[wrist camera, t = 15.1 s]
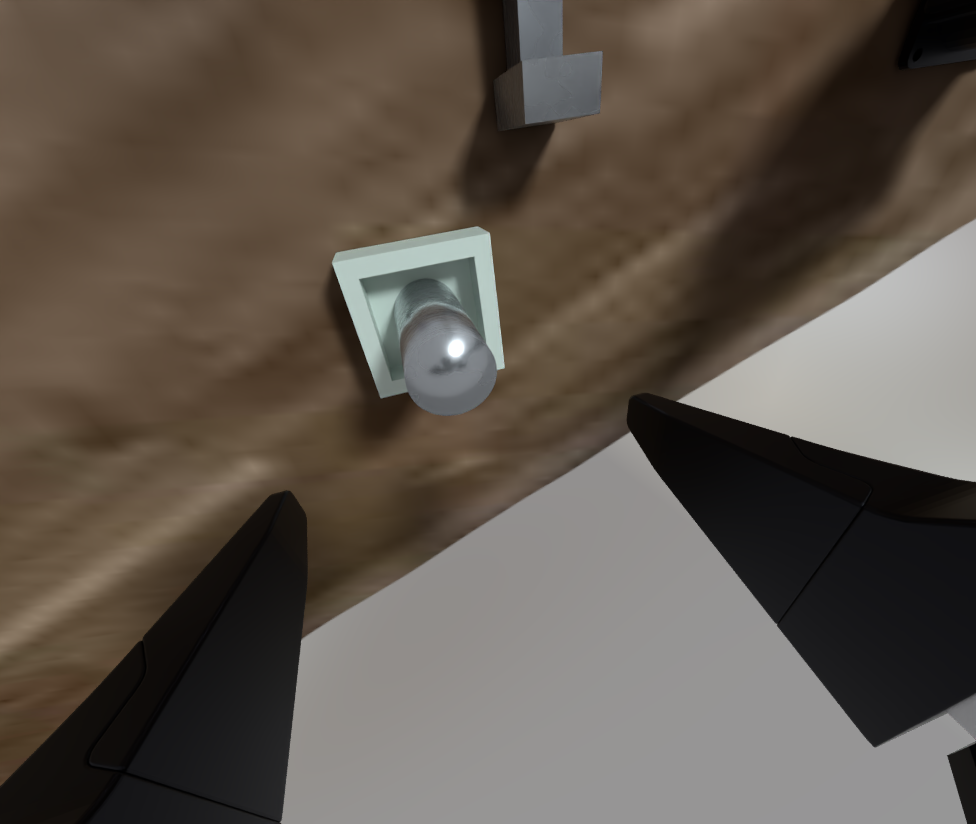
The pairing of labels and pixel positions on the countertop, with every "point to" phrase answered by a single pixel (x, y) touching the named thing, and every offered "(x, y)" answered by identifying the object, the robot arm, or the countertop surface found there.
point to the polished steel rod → (441, 350)
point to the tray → (391, 266)
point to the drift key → (543, 70)
